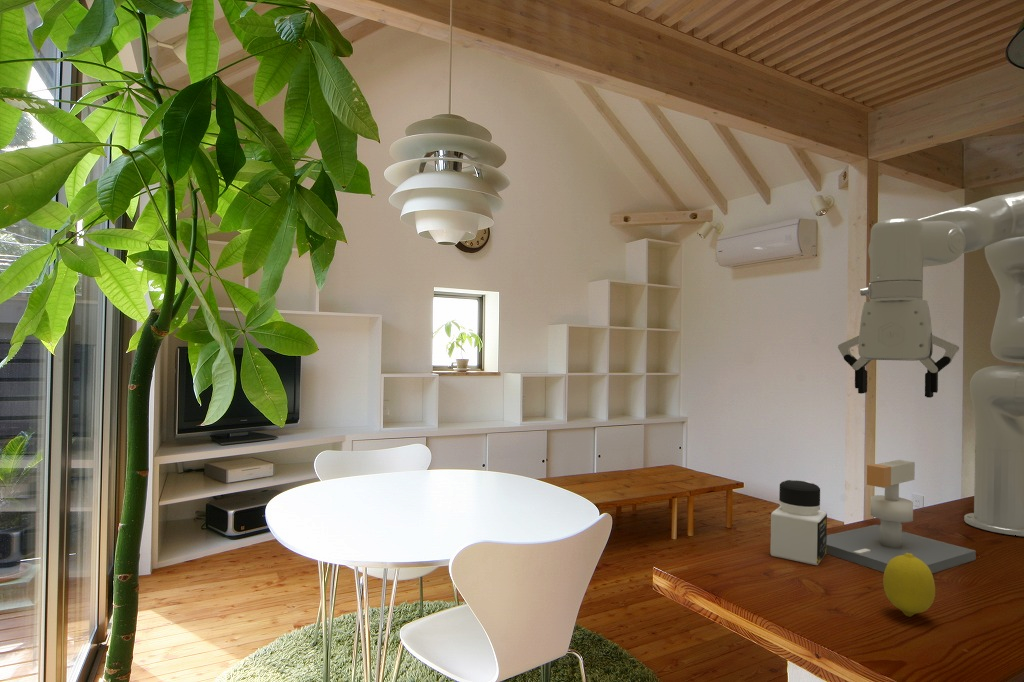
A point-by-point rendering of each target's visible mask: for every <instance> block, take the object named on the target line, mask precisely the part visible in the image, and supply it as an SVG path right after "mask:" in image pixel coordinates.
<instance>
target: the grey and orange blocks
mask: <svg viewBox="0 0 1024 682" xmlns="http://www.w3.org/2000/svg"><path fill="white" fill-rule="evenodd" d="M915 464H916V463H915V461H909V460H903V459H896V460H892V461H891V460H890V461H887V462H882V463H881V462H880V463H871V464H867V465H866V485H867V486H872V487H876V488H882V489H884V494H883V495H879V494H878V495H871V496H870V508H869V509H870V516H872V518H876V519H878V520H881V519H882V520H886V521H892V522H902V523H911V522H913V521H914V502H913V501H912V500H910V499H906V498H902V497H900V484H903V483H906V482H911V481H915V467H916V465H915Z"/></svg>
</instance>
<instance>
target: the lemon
mask: <svg viewBox="0 0 1024 682" xmlns="http://www.w3.org/2000/svg"><path fill="white" fill-rule="evenodd" d="M935 584H936V583H935V579H934V575H933V573H931V570H930V569H929V567H928V566H927V565H926V564H925V563H924V562H923V561H921V560H920V559H918V558H916V557H914V556H913V554H911V553H906V554H904V555H900V556H896V557H894V558H893V559H891V560H890V561H889V562H888V564H887V566H886V568H885V571H884V572H883V578H882V585H883V590H884V593H885V595H886V598H887V600H888V601H889V602H890V603H891V604H892V605H893V606H894V607H895V608H897V609H899V610H900V611H901V612H902V613H903V615H905V616H906V617H913V616H914V615H916V614H920V613H924V612H926V611H927V610H928V609H929V608H930V607H931V606H932V605H933V603H934V600H935V597H936V585H935Z"/></svg>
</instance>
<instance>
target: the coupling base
mask: <svg viewBox="0 0 1024 682" xmlns="http://www.w3.org/2000/svg"><path fill="white" fill-rule="evenodd" d="M976 551H977V550H975V549H970V548H967V547H964V546H959V545H957V544H956V545H955V544H952V543H948V542H944V541H940V540H936V539H933V538H929V537H925V536H921V535H918V534H913V533H910V532H907V531H903V522H892V521H886V520H882V519H880V524H873V525H869V526H863V527H858V528H853V529H849V530H845V531H840V532H837V533H831V534H827V540H826V555H828V556H829V555H830V556H832V557H835V558H838V559H841V560H844V561H847V562H851V563H854V564H857V565H861V566H862V567H866V568H868V569H869V568H870V569H871V570H872V569H873V570H875V571H879V572H882V573H884V571H885V568H886V566H887V564H888V562H889V561H890V560H891V559H893V558H894V557H896V556H900V555H904V554H906V553H911V554H913V556H914V557H916V558H918V559H920V560H921V561H923V562H924V563H925V564H926V565H927V566H928V567H929V569H930V570H931V573H932V574H935V573H938V572H941V571H945V570H947V569H952V568H954V567H958V566H961V565H964V564H966V563H967V564H968V563H970V562H974V561H976V560H977V559H976V557H977V552H976Z"/></svg>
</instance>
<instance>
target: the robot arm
mask: <svg viewBox="0 0 1024 682" xmlns="http://www.w3.org/2000/svg"><path fill="white" fill-rule="evenodd" d="M981 249H984V257H985V259H986V262H987V265H988V267H989V268H990V271H991V273H992V275H993V277H994V280H995V281H996V283H997V286H998V289H999V295H1000V296H999V304H998V307H997V312H996V316H995V320H994V325H993V328H992V329H993V330H992V333H991V338H990V352H991V353H992V355H993V357H995V358H996V359H998V360H999V361H1002V362H1006V363H1015V364H1024V191H1018V192H1011V193H1008V194H1002V195H1001V194H1000V195H995V196H992V197H989V198H988V197H987V198H985V199H982V200H979V201H976V202H973V203H970V204H967V205H963V206H960V207H956V208H952V209H950V210H946V211H941V212H938V213H935V214H932V215H929V216H926V217H922V218H918V219H916V218H911V217H910V218H909V217H900V218H897V217H896V218H889V219H884V220H881V221H877V222H876V223H874V224H873V225H872V227H871V230H870V242H869V244H868V249H867V251H868V256H869V260H870V261H869V262H870V263H869V266H870V267H869V283H868V286H866V287H864V288H860V291H859V292H860V296H861V297H863V296H865V297H868V299H869V301H866V302H864V303H863V306H862V312H861V317H860V324H859V325H860V326H859V334H858V335H857V336H854V337H852V338H851V339H848V340H846V341H844V342H841V343H840V344H838V346H837V348H838V350H839V353H840V354H841V355H842V357H843V360H844V361H845V362H846V363H847V364H848V365H849V366H850V367H851V368H852V369H853V370H854V388H855V389H857V393H858V394H866V393H867V392H868V370H867V369H866V367H867V365H868V364H869V363H871V362H872V360H873V361H906V362H907V361H910V362H911V361H917V362H918V361H919V362H920V364H922V365H923V366H924V367H925V368H926V369H927V370H926V371H927V372H926V373H924V397H925V398H930V399H931V398H933V397H934V394H935V393H936V394H937V393H938V391H939V372H941V371H942V370H943V369H944V368H946V367H947V366H948V365H949V364H951V363H952V361H953V359H954V358H955V357H956V355H957V353H958V351H960V346H959V345H957V344H955V343H953V342H951V341H947V340H945V339H943V338H941V337H939V336H937V335H935V334H933V327H932V318H931V313H930V307H929V302H928V301H927V300H926V299H924V300H923V298H924V293H923V292H924V290H923V286H924V285H923V284H924V282H923V281H924V268H925V267H935V266H943V265H947V264H949V263H952V262H955V261H956V260H957V259H959V258H960V256H962V254H965V253H971V252H975V251H979V250H981ZM934 345H935V346H937V347H940V348H941V349H943V350H944V351H945V352H944V354H943V356H941V358H940V359H939V360H937V361H935V360H934V358H932V356H933V350H934V349H933V347H934ZM856 346H858V355H859V358H858V359H857V358H856V357H855V356H854V355H853V354H852V352H851V349H852V348H853V347H856ZM969 393H970V394H969V395H970V398H971V399H970V400H971V402H972V409H973V415H974V429H975V432H974V433H975V435H974V436H975V441H974V489H973V490H974V491H973V492H974V494H973V495H974V496H973V498H974V499H973V512H969V513H966V514H965V515H964V516H963V518H964V519H963V520H964V522H965V523H966V524H967V525H970V526H972V527H974V528H976V529H981V530H983V531H989V532H992V533H998V534H1002V535H1003V534H1004V535H1008V536H1015V535H1016V536H1017V537H1024V365H990V366H985V367H983V368H981V369H979V370H976V372H974V374H972V377H971V379H970V381H969Z"/></svg>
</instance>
